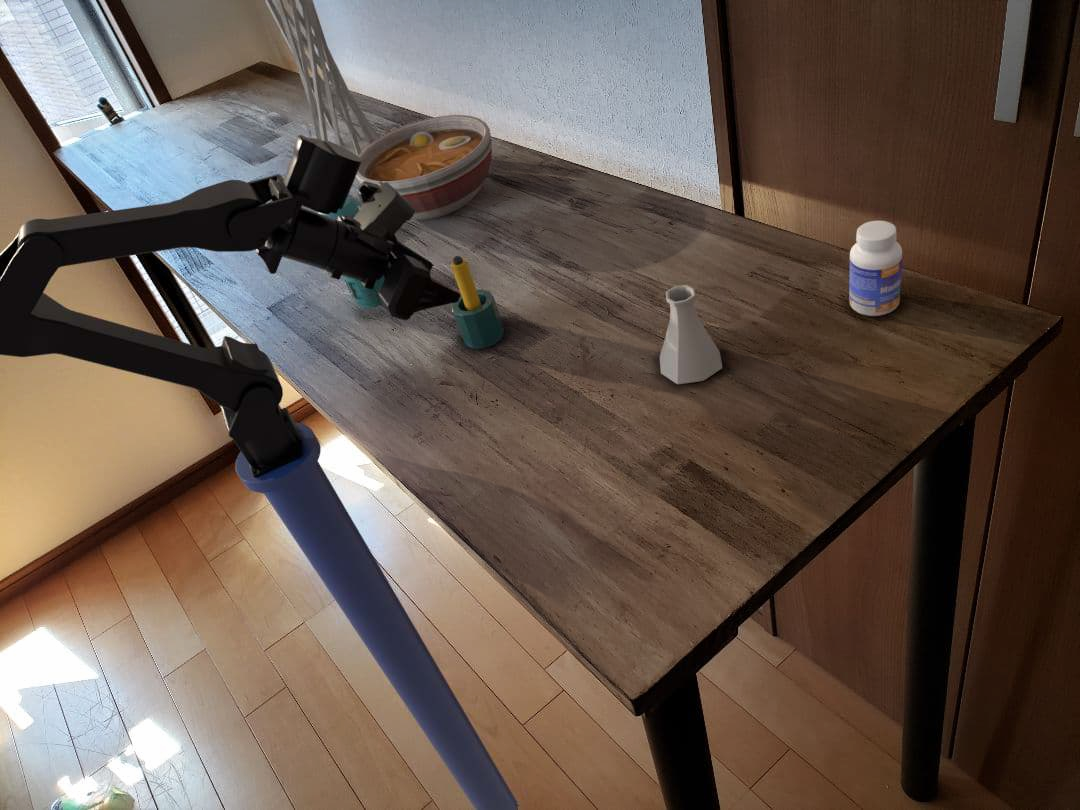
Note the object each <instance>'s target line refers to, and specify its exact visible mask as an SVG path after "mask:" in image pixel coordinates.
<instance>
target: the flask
mask: <svg viewBox="0 0 1080 810" xmlns="http://www.w3.org/2000/svg"><path fill="white" fill-rule="evenodd" d="M695 291H696V290H695V288H693V286H690V285H688V284H681V285H675V286H673V287H671V288H670V289H669V290H667V291H665V298H666V302H667V303H668V304H669V308H670V309H669V310H670V312H669V314H670V315H669V321H668V326H667V329H666V335H665V338H664V340H663V343H662V347H661V351H660V354H659V365H660V366H659V367H660V368H659V369H660V374H661V375H663V376H664V377H666V378H667V379H669V380H670V381H672V382H673V383H674V384H676V385H683V384H690V383H697V382H704V381H706V380H707V379H708V378H710V377H711V376H713V375H715V374H716V373H717V372H719V371H720V370H722V369H723V362H722V358H721V357H722V356H721V352H720V350H719V348H718V347H717V345H716V344H715V342H714V340H713V339H712V337H711V336H710V334H709V333H708V331H707V329H706V328H705V326H704V324H703V323H702V321H701V319H700V317H699V315H698V312H697V310H696V307H695V303H694V301H695V300H696V292H695Z"/></svg>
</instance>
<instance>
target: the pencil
mask: <svg viewBox="0 0 1080 810" xmlns="http://www.w3.org/2000/svg"><path fill="white" fill-rule="evenodd" d="M450 268H451V270H452V273H453V276H454V278H455V281H456V285H457V287H458V290H459V293H460V295H461V296H462V298H463V301H464V304H465V307H466V310H467V311H472V310H475V309H478V308H480V307H481V306H482V305H481V302H480V299H479V296H478V293H477V290H478V289H477V288H476V285H475V282H474V278H473V275H472V272H471V269H470V267H469V264H468V261H467V259H466V258H464V257H462V256H460V255H456V256H454V257H453V259H452V261H451V262H450Z"/></svg>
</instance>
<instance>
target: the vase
mask: <svg viewBox="0 0 1080 810" xmlns="http://www.w3.org/2000/svg"><path fill="white" fill-rule="evenodd" d="M263 1H264V3H265V4H266V6H267V7H268V9H269V12H270V14H271V15H272V17H273V19H274V21H275V23H276V24H277V26H278V28H279V31H280V32H281V34H282V36H283V38H284V40H285V42H286V44H287V45H288V48H289V50H290V52H291V53H292V56H293V59H294V62H295V64H296V68H297V70H298V75H299V77H300V79H301V83H302V86H303V90H304V93H305V96H306V98H307V101H308V104H309V107H310V111H311V116H312V121H313V127H314V131H315V136H316V137H315V138H316V139H319V140H322V141H324V139H325V140H328V133H327V132H328V131H327V126H326V121H327V123H328V126H329V127H330V130H331V131H332V133H333V135H334V139H335V144H337V145H339V146H341V147H343V148H345V149H347V150H349V151H351V152H352V153H354V154H355V155H357V156H359V155H360V154H361V153H362V152H363V151H364V149H366V148H367V147H368V146H369V145H370V144H372V143H373V142H374V141H376V140H378V139H379V138H380V137H379V135H378V134H377V133H376V131H375V129H374V128H373V126H372V125H371V123H370V122H369V120H368V118H367V117H366V115H365V113H364V112H363V111H362V109H361V108H360V106H359V104H358V102H357V101H356V100H355V98H354V97H353V94H352V93H351V92H350V90H349V87H348V86H347V84H346V82H345V79H344V77H343V75H342V73H341V71H340V69H339V67H338V65H337V63H336V61H335V59H334V57H333V55H332V53H331V50H330V49H329V47H328V44H327V41H326V38H325V34H324V31H323V28H322V25H321V22H320V19H319V15H318V13H317V10H316V7H315V4H314V3H315V2H314V0H298V3H299V5H300V6H301V11H302V14H301V12H300V11H299V9H298V8H297V2H296V0H285V1H286V2H287V4H288V5H289V7H290V11H291V15H292V16H291V15H290V13H289V12H288V11H287V9H286V8H285V5H284V3H283V0H263ZM301 26H302V27H303V29H304V31H305V34H303V32H302V30H301ZM294 34H295V35H296V37H295V35H294ZM315 48H316V49H317V52H316V51H315V50H316V49H315ZM305 50H306V51H307V52H308V55H307V54H306V51H305ZM318 68H319V69H320V70H321V73H322V76H321V75H320V73H319V71H318ZM309 71H310V72H311V75H310V73H309ZM311 76H312V77H311ZM322 77H323V78H322ZM331 86H332V87H333V89H334V91H335V92H336V95H337V98H338V100H337V99H336V97H335V96H334V94H333V93H332V89H331ZM321 89H322V90H323V92H324V94H325V95H326V99H327V105H328V109H329V110H328V109H327V107H326V105H325V103H324V101H323V98H322V91H321ZM338 101H339V102H338ZM349 111H350V112H349ZM336 112H337V113H338V114H339V117H340V118H341V119H342V120H343V122H344V123H345V125H346V126H347V129H348V132H349V135H350V138H351V140H348V141H345V142H344V141H343V139H342V137H341V134H340V129H339V128H340V127H339V123H338V118H337V113H336ZM350 113H351V114H352V115H353V117H354V119H355V120H356V122H357V123H358V127H359V128H360V129H361V132H362V134H363V136H364V137H362V136H361V135H360V133H359V132H358V131H357V129H356V128H355V126H354V125H353V122H352V119H351V115H350ZM328 141H329V140H328Z"/></svg>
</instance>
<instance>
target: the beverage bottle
mask: <svg viewBox="0 0 1080 810" xmlns="http://www.w3.org/2000/svg"><path fill="white" fill-rule="evenodd" d="M359 205H361V206H362V203H361V201H360V199H357V198H355V197H353V196H349V195H348V196H347V199H346V201H345V204H344V206H343V208H342V209H338V211H337V213H331V212H330V214H323V213H320V212H317V213H319V214H321V215H324V216H327V217H330V218H333V219H336V220H337V218H338V216H341V217H342V215H345V216H348V217H352V218H354V216H355V215H356V214H357V213H358V211H359V210H360V209H359V208H358V206H359ZM342 276H343V275H341V277H342ZM343 280H344V282H345V285H346V287H347V289H348V291H349V293H350V295H351V297H352V299H353V300H354V302H355V304H356V305H358V306H359V307H361V308H364V309H372V308H377V307H380V306H384V305H383V304H382V302H381V299H380V297H379V295H378V294H379V291H380V289H381V287H382V285H383V282H384V280H385V277H384V276H382V277H381V279H380V280H376V282H375V285H374V287H373V289H372V290H371V289H368V288H365V287H364V286H363V285H362V283H361V282H360V281H359V280H356V279H353V278H350V277H346V276H343Z"/></svg>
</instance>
